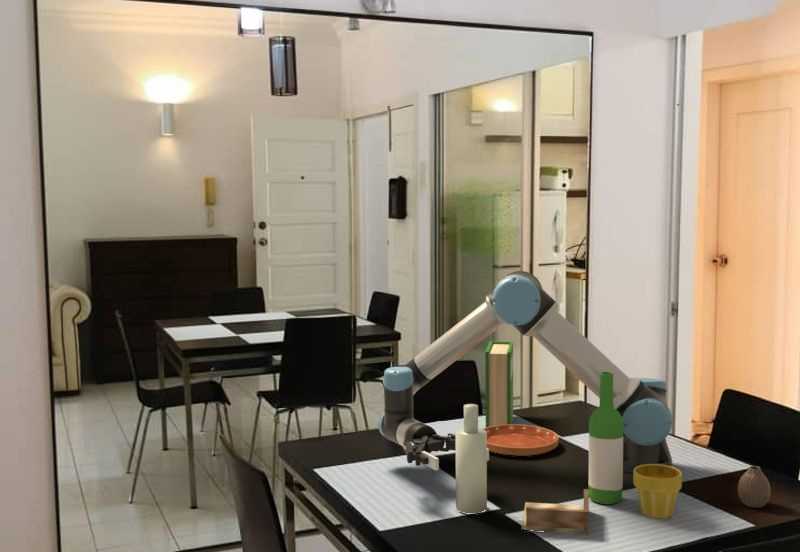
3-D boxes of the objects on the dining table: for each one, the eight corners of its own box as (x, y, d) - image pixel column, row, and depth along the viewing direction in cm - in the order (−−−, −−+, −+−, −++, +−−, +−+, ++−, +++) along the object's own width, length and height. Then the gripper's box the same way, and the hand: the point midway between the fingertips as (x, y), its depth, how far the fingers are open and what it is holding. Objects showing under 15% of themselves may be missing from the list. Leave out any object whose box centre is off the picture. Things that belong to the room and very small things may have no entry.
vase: (767, 512, 196) (768, 474, 195) (734, 507, 200) (735, 469, 199) (772, 503, 202) (773, 465, 201) (740, 497, 206) (741, 461, 205)
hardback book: (510, 431, 264) (510, 352, 261) (485, 430, 265) (485, 351, 263) (513, 416, 281) (513, 341, 279) (489, 415, 282) (489, 341, 280)
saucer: (571, 443, 252) (571, 430, 251) (538, 465, 233) (538, 451, 232) (498, 432, 264) (498, 420, 264) (462, 452, 245) (462, 439, 244)
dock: (588, 510, 199) (588, 489, 198) (588, 535, 185) (588, 512, 185) (525, 507, 201) (525, 486, 201) (521, 530, 188) (521, 508, 187)
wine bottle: (585, 493, 210) (586, 369, 207) (618, 493, 209) (620, 369, 206) (591, 505, 202) (592, 376, 199) (625, 505, 202) (627, 376, 199)
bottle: (488, 504, 204) (488, 402, 201) (485, 515, 197) (484, 410, 194) (458, 502, 205) (457, 401, 203) (454, 513, 198) (453, 409, 196)
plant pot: (653, 525, 190) (654, 481, 189) (623, 509, 199) (623, 467, 198) (691, 517, 194) (692, 474, 193) (659, 502, 203) (660, 461, 202)
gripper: (459, 444, 227) (507, 466, 208) (372, 459, 215) (415, 485, 196) (459, 415, 226) (507, 435, 207) (372, 429, 214) (415, 452, 196)
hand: (463, 459), depth 202 cm, fingers open, 13 cm apart
